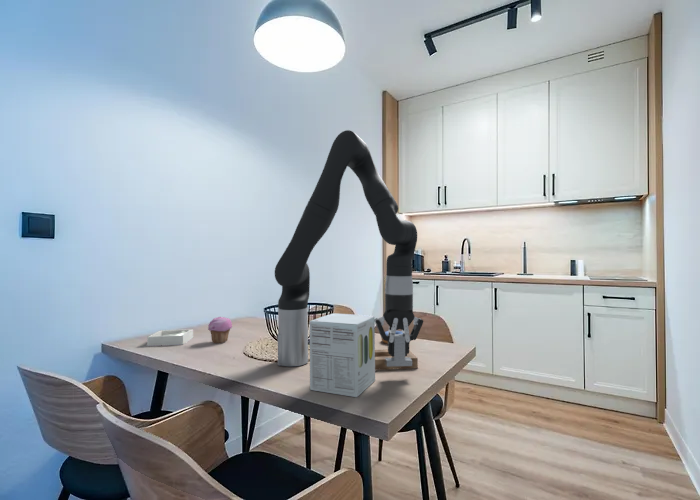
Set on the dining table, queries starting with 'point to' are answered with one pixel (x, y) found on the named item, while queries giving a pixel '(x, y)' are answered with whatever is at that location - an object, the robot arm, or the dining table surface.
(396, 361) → the grey metal t-block
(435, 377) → the dining table surface
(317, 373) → the supplement box
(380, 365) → the frame
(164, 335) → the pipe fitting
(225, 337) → the cupcake
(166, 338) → the tray
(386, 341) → the doughnut
